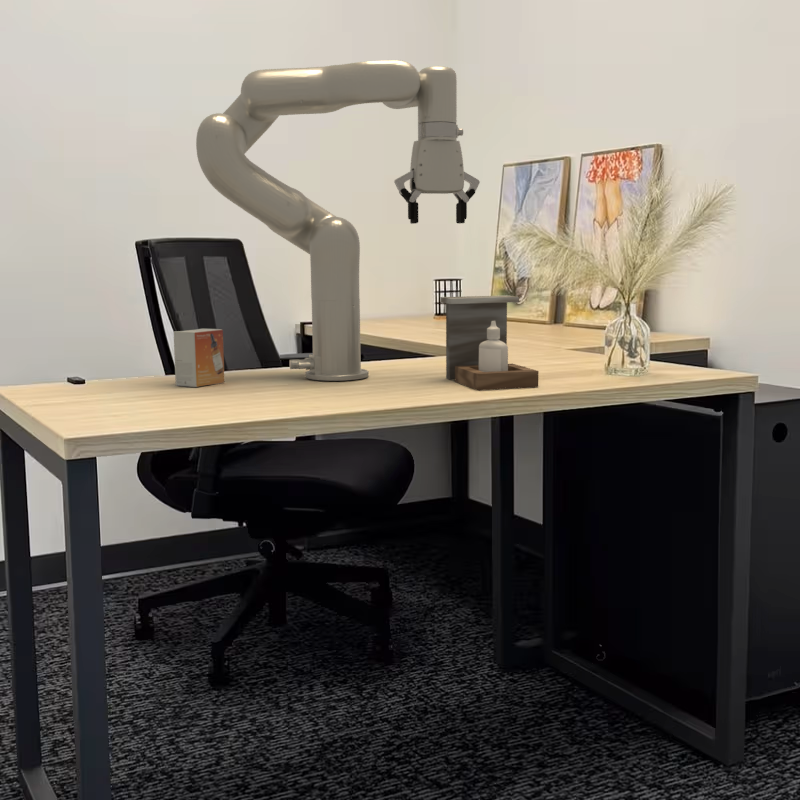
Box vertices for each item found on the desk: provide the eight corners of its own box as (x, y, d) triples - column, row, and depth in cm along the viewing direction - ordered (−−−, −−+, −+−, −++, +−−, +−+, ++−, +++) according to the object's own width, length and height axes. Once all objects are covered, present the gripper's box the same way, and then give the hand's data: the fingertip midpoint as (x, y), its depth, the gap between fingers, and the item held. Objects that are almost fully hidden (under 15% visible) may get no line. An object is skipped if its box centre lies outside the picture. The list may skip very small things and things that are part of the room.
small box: (196, 388, 182) (193, 332, 180) (174, 386, 185) (172, 330, 183) (225, 382, 188) (223, 328, 187) (204, 380, 191) (202, 327, 190)
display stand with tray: (543, 386, 179) (544, 299, 176) (472, 390, 175) (472, 301, 172) (506, 375, 195) (506, 295, 193) (440, 378, 191) (440, 297, 189)
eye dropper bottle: (489, 387, 179) (489, 322, 177) (476, 383, 184) (476, 320, 182) (510, 385, 181) (510, 321, 179) (496, 382, 186) (497, 319, 184)
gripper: (471, 137, 194) (471, 223, 197) (389, 135, 189) (390, 223, 192) (485, 132, 187) (485, 222, 190) (400, 130, 182) (401, 223, 185)
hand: (437, 223), depth 191 cm, fingers open, 9 cm apart
